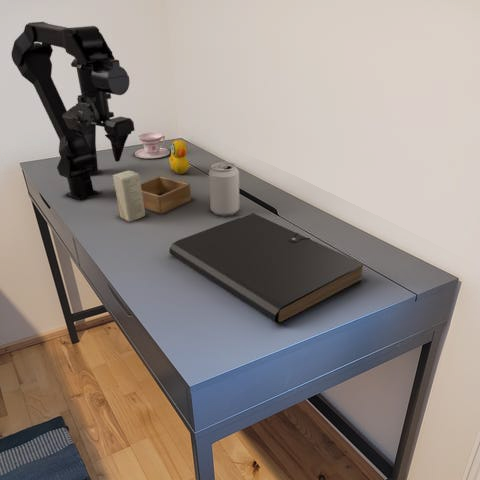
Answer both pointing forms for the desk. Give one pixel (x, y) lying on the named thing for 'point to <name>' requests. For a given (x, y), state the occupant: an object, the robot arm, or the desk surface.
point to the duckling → (179, 157)
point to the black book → (268, 265)
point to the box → (129, 195)
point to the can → (224, 188)
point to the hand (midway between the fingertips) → (105, 157)
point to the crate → (171, 198)
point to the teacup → (152, 146)
